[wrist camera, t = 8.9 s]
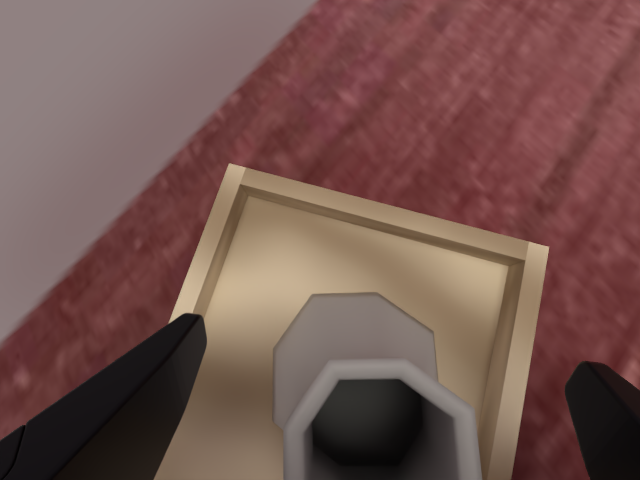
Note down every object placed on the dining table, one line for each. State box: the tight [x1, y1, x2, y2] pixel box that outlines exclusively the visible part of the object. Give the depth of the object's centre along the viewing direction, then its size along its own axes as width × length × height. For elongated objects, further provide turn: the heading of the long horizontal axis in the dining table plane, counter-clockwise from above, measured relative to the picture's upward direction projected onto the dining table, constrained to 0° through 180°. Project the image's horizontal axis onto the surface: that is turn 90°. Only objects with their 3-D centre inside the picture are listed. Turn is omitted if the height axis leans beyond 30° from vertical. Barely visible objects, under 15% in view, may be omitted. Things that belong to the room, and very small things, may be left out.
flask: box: [272, 292, 482, 480], centre depth 10 cm, size 7×7×10 cm
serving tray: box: [154, 163, 549, 480], centre depth 14 cm, size 20×14×2 cm
